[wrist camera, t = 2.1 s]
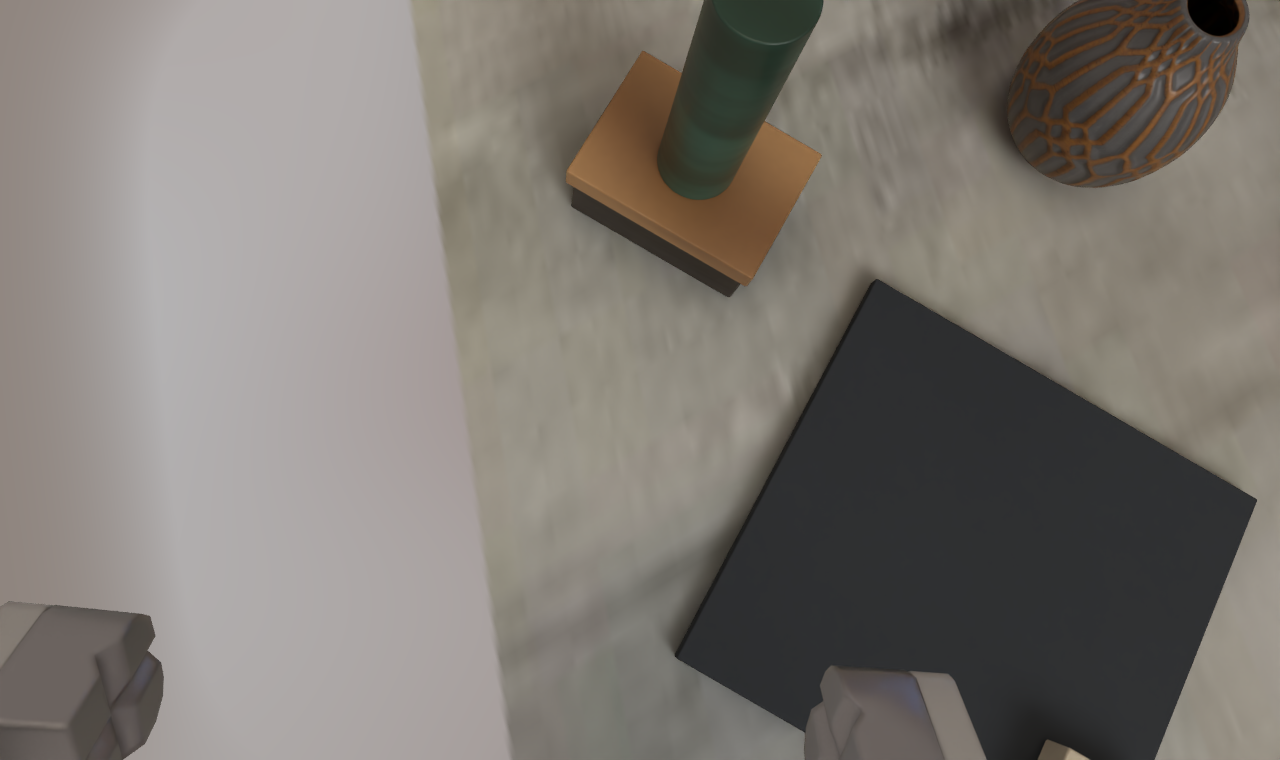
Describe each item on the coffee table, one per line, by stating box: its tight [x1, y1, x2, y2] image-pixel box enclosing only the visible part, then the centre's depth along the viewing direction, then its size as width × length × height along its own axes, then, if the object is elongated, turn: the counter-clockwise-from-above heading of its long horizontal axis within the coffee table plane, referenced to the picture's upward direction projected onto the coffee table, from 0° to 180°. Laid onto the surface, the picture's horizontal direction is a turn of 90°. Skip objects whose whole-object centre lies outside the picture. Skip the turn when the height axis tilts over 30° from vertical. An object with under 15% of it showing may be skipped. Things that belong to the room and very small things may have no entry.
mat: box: [675, 279, 1257, 760], centre depth 33 cm, size 16×17×1 cm
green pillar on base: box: [566, 0, 823, 297], centre depth 28 cm, size 5×7×14 cm
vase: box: [1007, 0, 1249, 188], centre depth 33 cm, size 7×7×9 cm
